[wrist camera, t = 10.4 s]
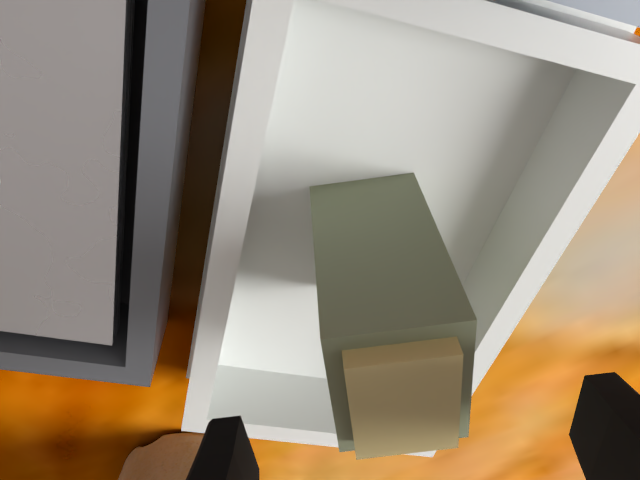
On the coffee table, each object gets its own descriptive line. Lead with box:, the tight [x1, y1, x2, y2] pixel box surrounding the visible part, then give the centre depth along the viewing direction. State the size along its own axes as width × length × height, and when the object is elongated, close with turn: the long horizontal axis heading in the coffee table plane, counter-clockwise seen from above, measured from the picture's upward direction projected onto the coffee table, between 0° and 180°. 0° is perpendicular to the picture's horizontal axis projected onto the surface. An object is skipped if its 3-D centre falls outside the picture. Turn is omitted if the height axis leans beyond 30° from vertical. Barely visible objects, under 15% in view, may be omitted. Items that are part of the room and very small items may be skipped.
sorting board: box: [181, 0, 640, 457], centre depth 14 cm, size 10×23×4 cm, turn 166°
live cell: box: [309, 173, 477, 460], centre depth 14 cm, size 3×4×7 cm
